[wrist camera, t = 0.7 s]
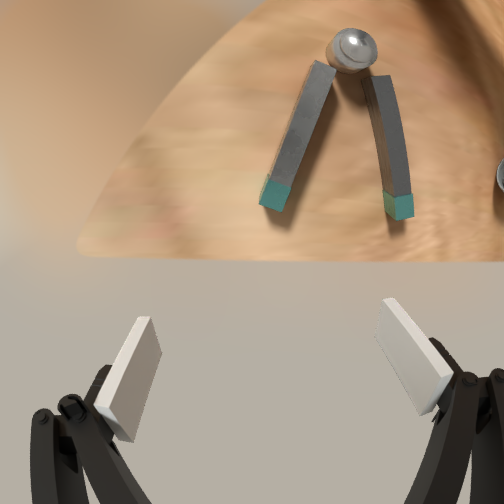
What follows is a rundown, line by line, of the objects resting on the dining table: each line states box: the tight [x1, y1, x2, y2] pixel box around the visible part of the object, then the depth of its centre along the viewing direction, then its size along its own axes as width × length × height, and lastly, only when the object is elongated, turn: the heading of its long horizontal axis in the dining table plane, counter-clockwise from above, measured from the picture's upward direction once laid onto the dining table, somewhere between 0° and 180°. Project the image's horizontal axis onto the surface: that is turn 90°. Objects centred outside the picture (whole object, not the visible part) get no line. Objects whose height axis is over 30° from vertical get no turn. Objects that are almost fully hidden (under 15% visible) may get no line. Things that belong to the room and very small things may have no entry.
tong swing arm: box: [259, 29, 377, 212], centre depth 27 cm, size 23×6×5 cm, turn 161°
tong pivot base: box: [326, 28, 414, 221], centre depth 27 cm, size 24×6×4 cm, turn 16°
